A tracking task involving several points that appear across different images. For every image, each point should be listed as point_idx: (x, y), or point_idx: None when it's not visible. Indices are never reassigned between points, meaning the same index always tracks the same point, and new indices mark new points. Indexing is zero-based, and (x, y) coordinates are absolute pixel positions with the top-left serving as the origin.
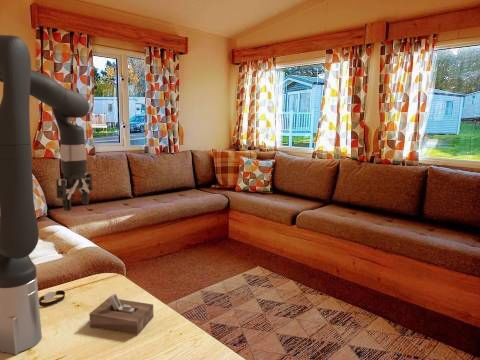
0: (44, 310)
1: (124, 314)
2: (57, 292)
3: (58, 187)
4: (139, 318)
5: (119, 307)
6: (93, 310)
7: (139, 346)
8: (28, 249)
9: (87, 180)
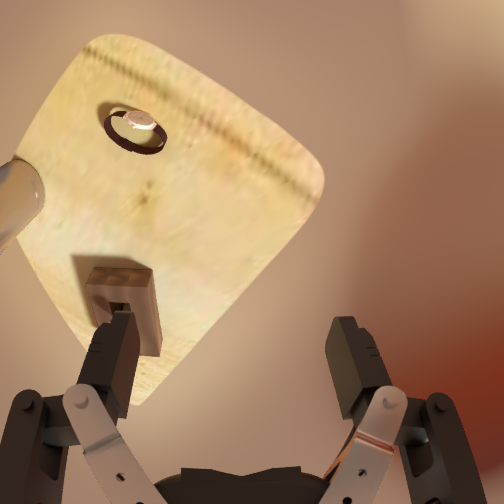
0: (101, 143)
1: None
2: (156, 130)
3: (4, 487)
4: None
5: None
6: (96, 284)
7: None
8: None
9: (430, 500)
